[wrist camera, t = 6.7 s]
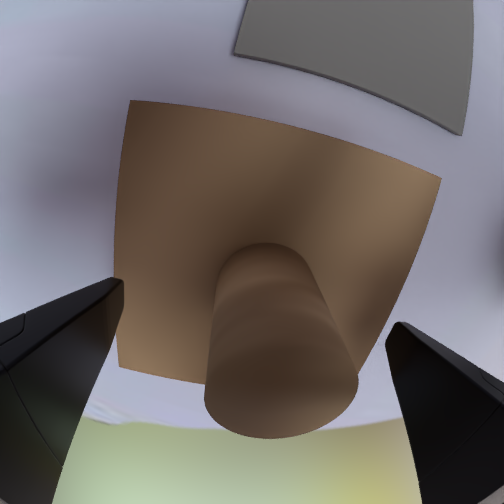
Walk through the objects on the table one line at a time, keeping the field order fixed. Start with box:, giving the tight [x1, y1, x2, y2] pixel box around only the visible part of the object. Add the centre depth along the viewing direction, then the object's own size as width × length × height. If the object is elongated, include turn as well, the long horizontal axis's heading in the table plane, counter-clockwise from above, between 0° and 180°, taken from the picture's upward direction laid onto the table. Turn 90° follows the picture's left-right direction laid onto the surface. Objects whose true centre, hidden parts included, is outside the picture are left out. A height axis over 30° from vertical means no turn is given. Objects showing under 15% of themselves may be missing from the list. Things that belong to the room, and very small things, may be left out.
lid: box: [114, 100, 442, 439], centre depth 9 cm, size 11×11×6 cm
